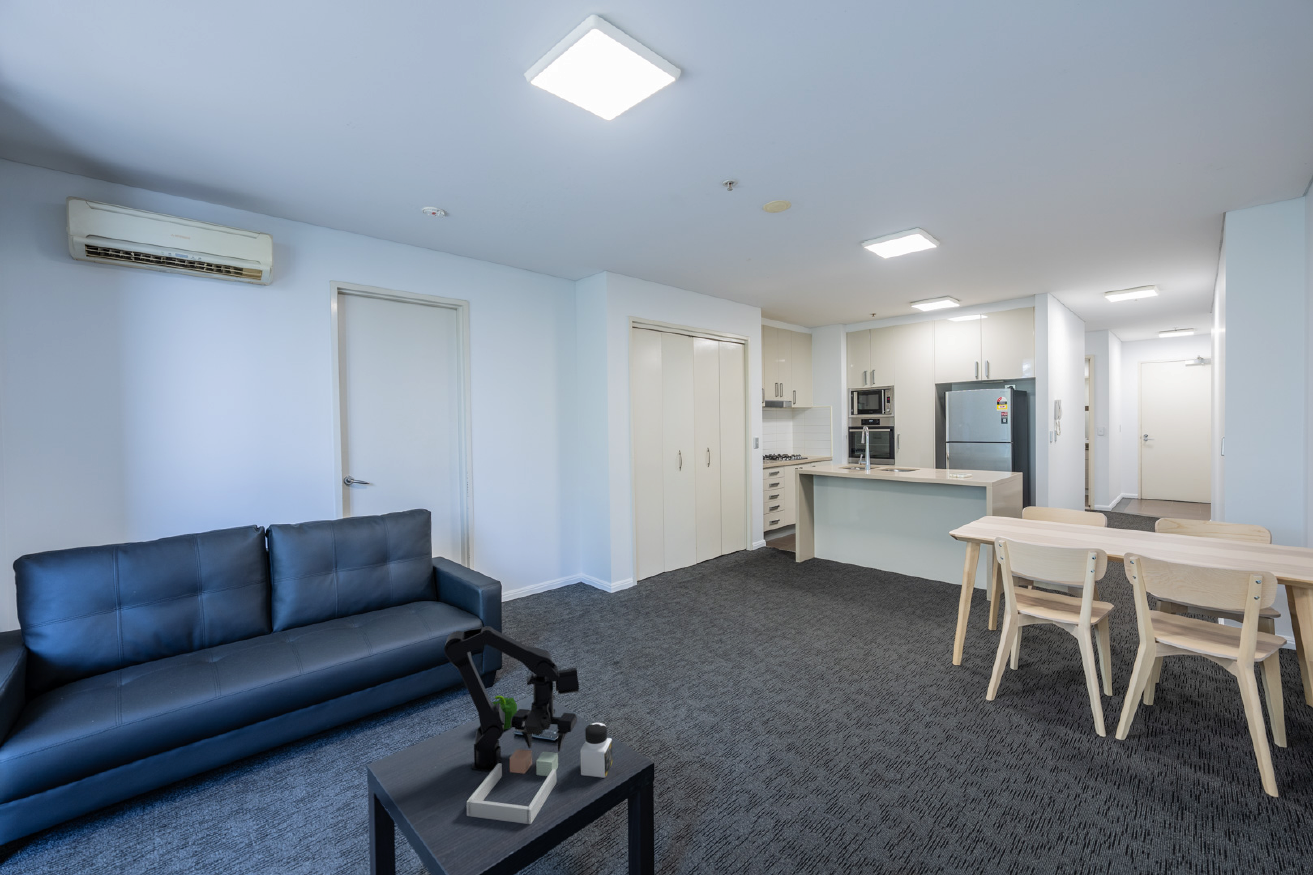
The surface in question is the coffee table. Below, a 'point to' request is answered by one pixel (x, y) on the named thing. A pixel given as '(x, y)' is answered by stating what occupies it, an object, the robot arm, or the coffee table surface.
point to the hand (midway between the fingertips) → (544, 748)
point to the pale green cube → (546, 763)
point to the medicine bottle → (596, 751)
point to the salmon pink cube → (520, 761)
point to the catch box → (507, 811)
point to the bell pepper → (507, 708)
